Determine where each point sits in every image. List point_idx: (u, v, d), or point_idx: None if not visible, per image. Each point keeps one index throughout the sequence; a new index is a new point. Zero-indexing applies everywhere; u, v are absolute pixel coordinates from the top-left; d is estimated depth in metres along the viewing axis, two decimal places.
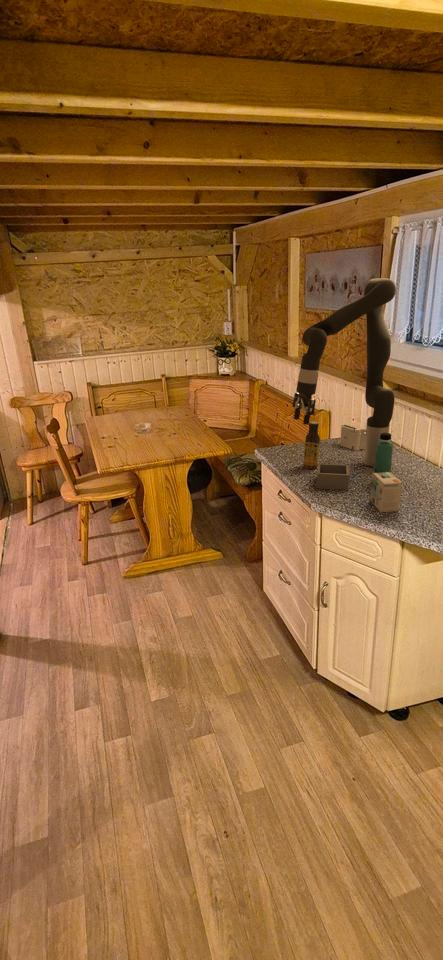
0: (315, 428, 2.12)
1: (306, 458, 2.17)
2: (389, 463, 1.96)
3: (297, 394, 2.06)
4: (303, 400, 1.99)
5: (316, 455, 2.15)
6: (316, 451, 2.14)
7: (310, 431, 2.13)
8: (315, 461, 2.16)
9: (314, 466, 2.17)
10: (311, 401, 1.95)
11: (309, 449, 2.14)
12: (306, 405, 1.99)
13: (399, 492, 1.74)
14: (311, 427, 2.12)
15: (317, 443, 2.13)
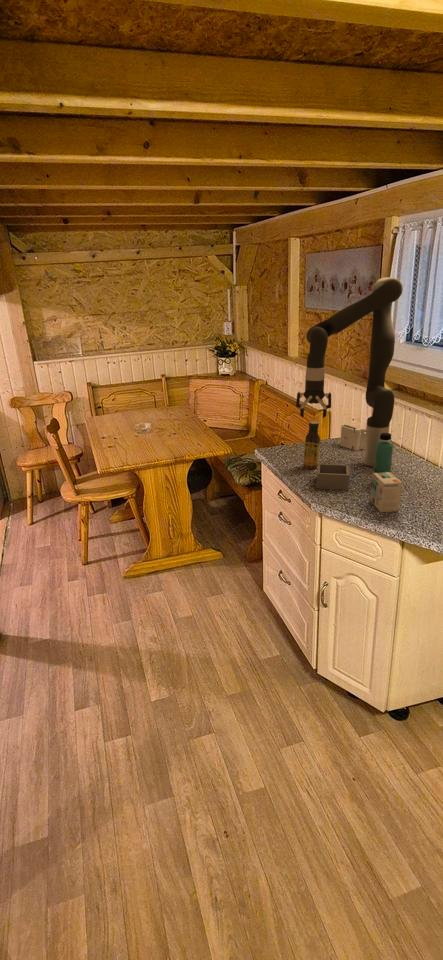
0: (315, 428, 2.12)
1: (306, 458, 2.17)
2: (389, 463, 1.96)
3: (300, 393, 2.09)
4: (319, 397, 2.07)
5: (316, 455, 2.15)
6: (316, 451, 2.14)
7: (310, 431, 2.13)
8: (315, 461, 2.16)
9: (314, 466, 2.17)
10: None
11: (309, 449, 2.14)
12: None
13: (399, 492, 1.74)
14: (311, 427, 2.12)
15: (317, 443, 2.13)
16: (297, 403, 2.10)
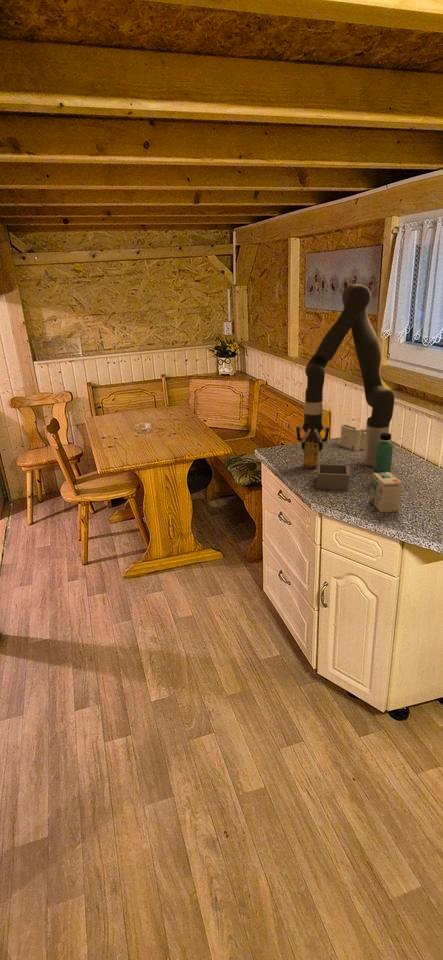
0: (315, 428, 2.12)
1: (305, 458, 2.17)
2: (389, 463, 1.96)
3: (298, 427, 2.14)
4: (317, 430, 2.12)
5: (316, 455, 2.15)
6: (316, 451, 2.14)
7: (310, 431, 2.13)
8: (315, 461, 2.16)
9: (314, 466, 2.17)
10: None
11: (309, 449, 2.14)
12: None
13: (399, 492, 1.74)
14: (311, 427, 2.12)
15: (317, 443, 2.13)
16: (298, 437, 2.15)
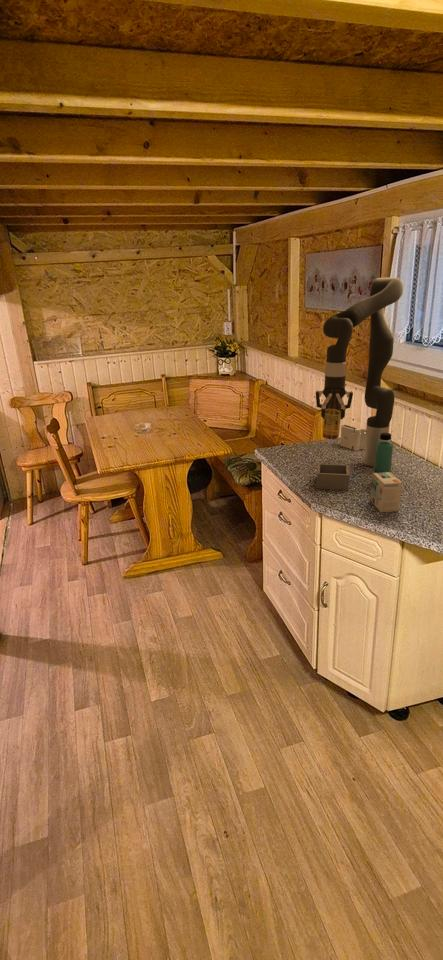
0: (337, 392, 1.89)
1: (325, 427, 1.94)
2: (389, 463, 1.96)
3: None
4: (339, 395, 1.89)
5: (337, 423, 1.93)
6: (337, 419, 1.92)
7: (331, 396, 1.90)
8: (336, 430, 1.93)
9: (335, 436, 1.94)
10: (352, 394, 1.89)
11: (330, 417, 1.91)
12: None
13: (399, 492, 1.74)
14: (332, 391, 1.89)
15: (339, 410, 1.91)
16: (317, 403, 1.92)
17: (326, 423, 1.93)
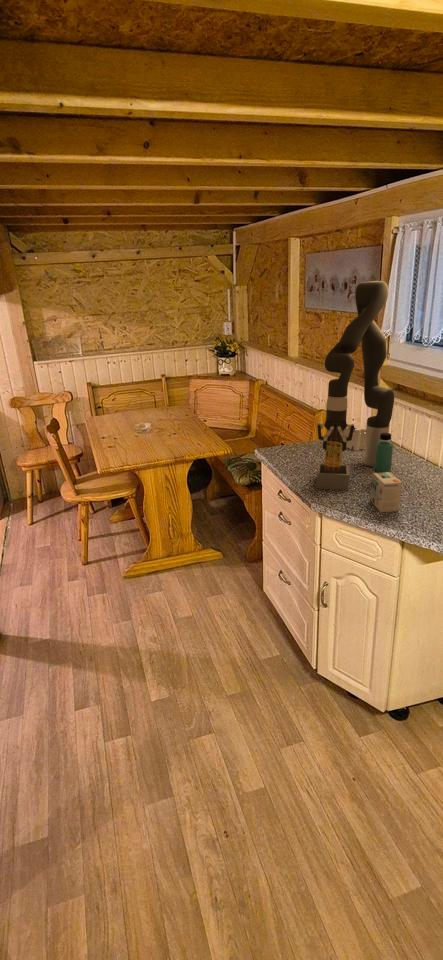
0: None
1: (327, 459, 1.96)
2: (389, 463, 1.96)
3: (320, 425, 1.94)
4: (341, 428, 1.92)
5: (339, 455, 1.95)
6: (339, 451, 1.94)
7: (333, 429, 1.92)
8: (338, 462, 1.96)
9: (336, 468, 1.97)
10: None
11: (332, 449, 1.94)
12: None
13: (399, 492, 1.74)
14: (334, 424, 1.92)
15: (340, 442, 1.93)
16: (319, 435, 1.95)
17: (328, 455, 1.96)
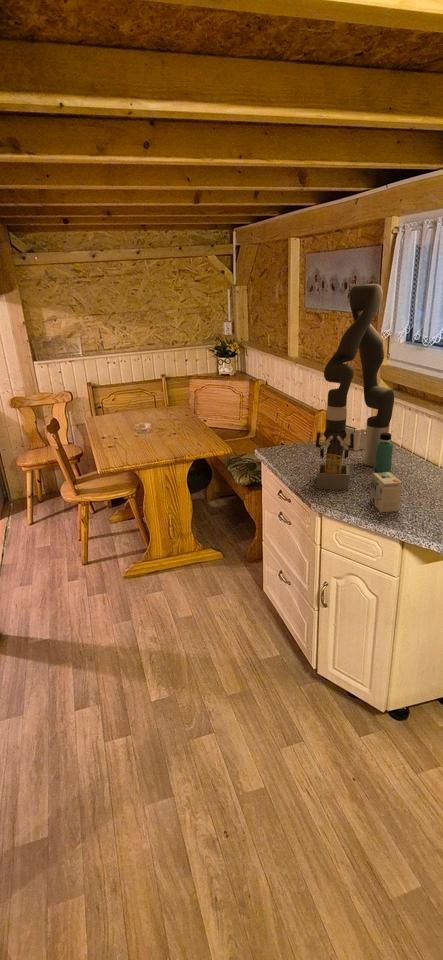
0: None
1: (327, 471, 1.98)
2: (389, 463, 1.96)
3: (319, 433, 1.95)
4: (340, 437, 1.93)
5: (339, 468, 1.97)
6: (339, 464, 1.96)
7: (332, 442, 1.94)
8: None
9: None
10: (353, 435, 1.93)
11: (331, 462, 1.96)
12: None
13: (399, 492, 1.74)
14: (333, 437, 1.94)
15: (340, 455, 1.95)
16: (317, 443, 1.96)
17: (328, 467, 1.97)
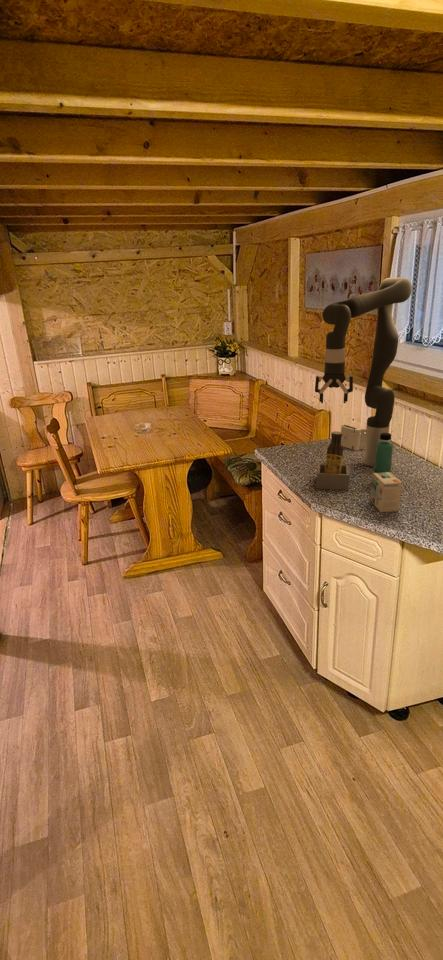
0: (339, 439, 1.93)
1: (327, 472, 1.98)
2: (389, 463, 1.96)
3: (318, 377, 1.95)
4: (339, 380, 1.93)
5: (339, 468, 1.97)
6: (339, 464, 1.96)
7: (332, 442, 1.94)
8: None
9: None
10: (352, 378, 1.93)
11: (332, 462, 1.96)
12: None
13: (399, 492, 1.74)
14: (334, 438, 1.93)
15: (340, 455, 1.95)
16: (316, 388, 1.96)
17: (328, 468, 1.97)
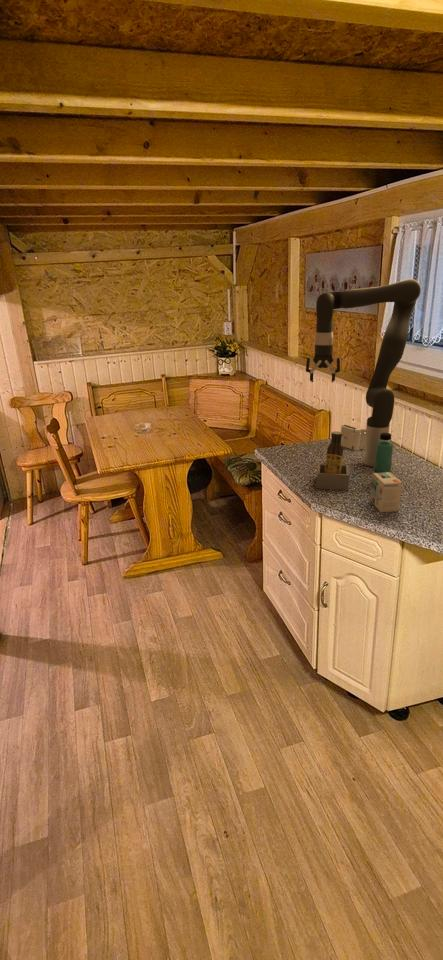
0: (339, 439, 1.93)
1: (327, 472, 1.98)
2: (389, 463, 1.96)
3: None
4: (328, 361, 2.15)
5: (339, 468, 1.97)
6: (339, 464, 1.96)
7: (332, 442, 1.94)
8: None
9: None
10: (339, 359, 2.14)
11: (332, 462, 1.96)
12: (329, 365, 2.16)
13: (399, 492, 1.74)
14: (334, 438, 1.93)
15: (340, 455, 1.95)
16: (307, 368, 2.18)
17: (328, 468, 1.97)
